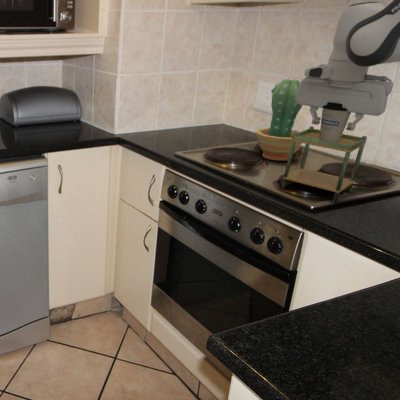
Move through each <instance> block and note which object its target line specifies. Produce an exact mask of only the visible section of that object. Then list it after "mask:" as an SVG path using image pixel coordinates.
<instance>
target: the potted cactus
mask: <svg viewBox="0 0 400 400" xmlns="http://www.w3.org/2000/svg"><path fill="white" fill-rule="evenodd" d="M300 82H301V81H299V79H297V80H296V79H295V78H294V79H289V78H287V79H286V78H285V79H283V80H281V81H280V82H279V83H276V84H275V85H274V87H272V89H271V90H270V92H271V104H270V105H271V112H272V114H271V121H270V126H269V127H268V128H267V127H266V128H259V129H257V130H255V137H256V138H257V141H258V144H259V147H260V149H261V150H262V152H263V153H262V155H261V156H262V157H263V158H265V159H267V160H273V161H285V162H286V161H287V160H288V156H289V151H290V147H291V142H292V141H291V140H292V136H293V133H299V132H301V130H297V129H296V130H295V129H293V128H294V125H295V121H296V119H297V116H298V114H299V112H300V111H301V109H302V108H303V105H299V104H297V103H296V101H295V96H296V93H297V89H298V87H299V84H300ZM302 144H303V143H300V142H296V144H295V148H294V152H293V155H294V154H295V153H296V152H297V151H299V149H300V148H301V145H302Z"/></svg>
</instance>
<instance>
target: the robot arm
mask: <svg viewBox="0 0 400 400" xmlns="http://www.w3.org/2000/svg"><path fill="white" fill-rule="evenodd" d="M332 45H333V47H332V50H331V53H330V55H329V57H328V59H327V63H326V64H319V65H316V66H312V67H308V68H306V69H305V71H304V77H303V78H302V79H301V80H300V81H299V82H300V84H299V87H298V89H297V93H296V96H295V101H296V103H297V104H299V105H302V106H306V107H309V113H310V115H311V118H312V119H311V124H312V125H315V126H316V125H317V126H318V125H320V124H321V119H322V116H321V117H320V116H318V112H317V111H319V109H323V106H324V105H327V103H328V102H332V103H339V104H342V105H343V108H347V110H348V111H347V112H351V114H354V118H355V119H354V120H353V121H352V122H351V121H349V122H347V124H346V127H345V130H346V131H351V132H354V131H355V129H356V128H357V127H356V126H357V124H358V123H359V122H360V121H361V120H363V118H364V116H365V115H366V116H373V117H379V116H381V115H383V114H384V113H385V112H386V109H387V104H388V97H389V95H390V94H391V93H392V90H393V87H394V82H393V81H392V80H391V79H390V78H389V76H386V75H381V76H380V75H374V74H368V71H369V68H370V67H373V66H377V65H383V64H392V63H400V0H392V1H391V2H390V3H389V4H387V6H385V5H384V4H383V3H382V2H380V1H367V2H365V1H364V2H363V1H362V2H358V3H353V4H350V5H348V6H347V7H345V8H344V9H343V10H342V12H341V14H340V16H339V18H338V21H337V25H336V28H335V32H334V35H333V40H332Z"/></svg>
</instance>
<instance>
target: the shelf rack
mask: <svg viewBox="0 0 400 400" xmlns="http://www.w3.org/2000/svg"><path fill="white" fill-rule="evenodd" d="M314 127H315V126H312V125H311V126H309V128H307V129H304V130H301V131H300V132H299V133H293V136H292V140H291V141H292V142H291V147H290V151H289V156H288V160H286V161H287V162H286V165H285V170H284V174H283V176H282V183H281V187H280V188H281V189H286V186H287V183H288V181H291V182H295V183H299V184H302V185H306V186H308V187H309V186H310V187H314V188H318V189H321V190H326V191H328V192H333V193H334V194H333V197H332V203H336V204H337V203H338V200H339V196H340V193H341V192H343V191H344V190H346V192H347V193H352V190H353V188H354V184H355V181H356V176H357V173H358V171H359V166H360V162H361V160H362V155H363V153H364V148H365V146H366V144H367V143H366V142H367V139H368V136H367V135H362V136H356V135H350V134H345V133H342V136H341V138H340V141H339V142H337V143H334V142H329V141H324V140H319V137H320V129H318V128H314ZM296 142H300V143H302V144H304V148H303V153H302V158H301V162H300V166H299V168H298V169H296V170H294V171H292V172H290V170H291V164H292V161H293V156H294V154H293V152H294V148H295V144H296ZM310 146H315V147H320V148H325V149H329V150H335V151H339V152H344V157H343V160H342V164H341V168H340V172H339V176H337V175H335V174H334V175H333V174H329V173H325V172H321V171H317V170H312V169H308V168H305V165H306V161H307V157H308V152H309V149H310ZM357 149H358V151H357V154H356V158H355V161H354V164H353V168H352V172H351V175H350V178H347V177H346V178H345V174H346V171H347V167H348V164H349V160H350V156H351V153H352V152H354V151H355V150H357Z"/></svg>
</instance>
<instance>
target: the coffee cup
mask: <svg viewBox="0 0 400 400" xmlns="http://www.w3.org/2000/svg"><path fill="white" fill-rule="evenodd" d="M321 110H322V111H321V120H320V127H319V128H320V129H319V130H320V137H319V140H324V141H329V142H334V143H337V142H339V141H340V138H341V136H342V134H344V131H345V130H346V127H347V124H348V121H349V119H350V116H351V114H352V112H347V111H348V110H347V108H343V105H342V104H339V103H332V102H328V103H327V105H324V106H323V108H322V109H321Z"/></svg>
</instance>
